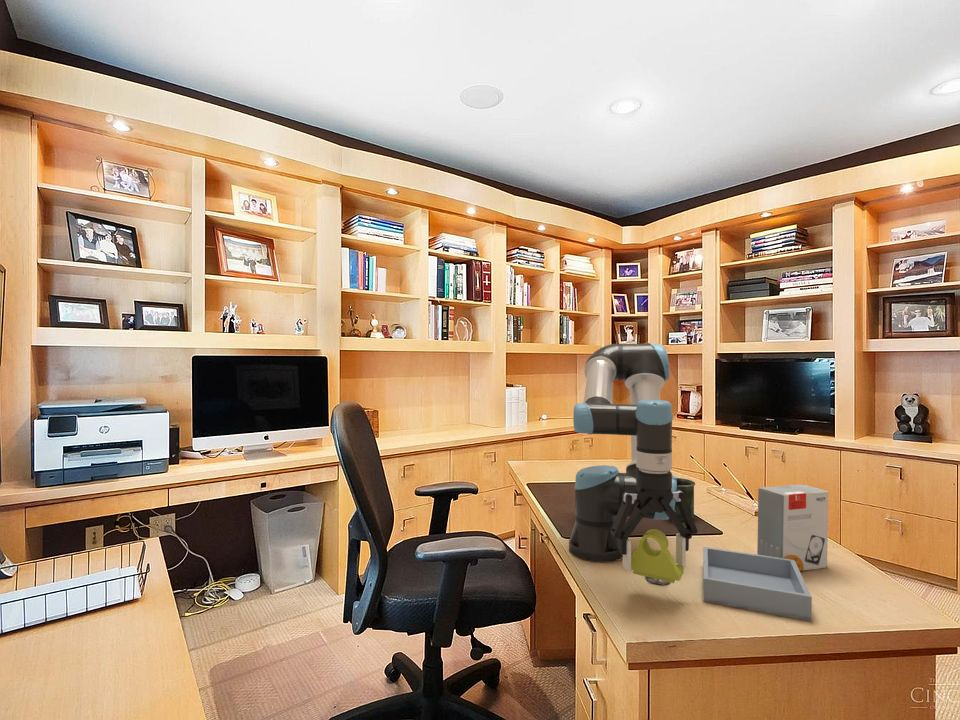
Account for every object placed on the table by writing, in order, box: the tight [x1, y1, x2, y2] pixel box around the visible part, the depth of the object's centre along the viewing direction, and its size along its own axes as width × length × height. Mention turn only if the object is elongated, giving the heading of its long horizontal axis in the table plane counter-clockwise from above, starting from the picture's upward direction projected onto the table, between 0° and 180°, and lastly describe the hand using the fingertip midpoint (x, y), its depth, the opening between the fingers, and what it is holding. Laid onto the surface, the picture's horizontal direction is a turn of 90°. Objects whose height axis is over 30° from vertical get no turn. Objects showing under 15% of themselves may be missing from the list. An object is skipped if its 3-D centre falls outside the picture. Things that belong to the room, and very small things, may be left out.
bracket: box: [631, 528, 685, 584], centre depth 107 cm, size 11×6×10 cm, turn 57°
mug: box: [674, 477, 696, 522], centre depth 163 cm, size 11×15×12 cm
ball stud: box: [644, 576, 672, 586], centre depth 117 cm, size 6×6×7 cm
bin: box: [702, 546, 813, 622], centre depth 112 cm, size 20×20×5 cm
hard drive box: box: [756, 483, 829, 572], centre depth 125 cm, size 16×8×20 cm, turn 106°
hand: (653, 566), depth 107 cm, fingers closed on bracket, 12 cm apart
